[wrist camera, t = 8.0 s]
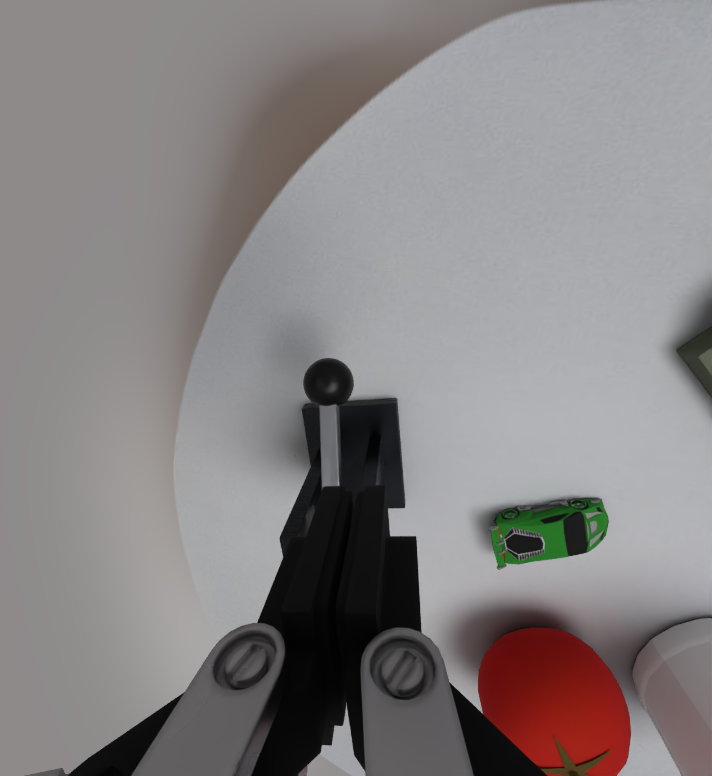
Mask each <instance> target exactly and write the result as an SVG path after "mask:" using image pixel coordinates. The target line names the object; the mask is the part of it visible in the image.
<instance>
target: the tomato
mask: <svg viewBox="0 0 712 776" xmlns="http://www.w3.org/2000/svg"><path fill="white" fill-rule="evenodd" d="M478 693H479V697H480V702H481V706H482V711H483V715H484V716H485V717H486V718H487V719H488V720H490V721H491V722H492V723H493V724H494V725H495V726H496V727H497V728H498V729H499V730H500V731H501V732H502V733H503V734H504V735H505V736H506V737H507V738H508V739H510V740H511V741H512V742H513V743H514V744H515V745H516V746H517V747H518V748H519V749H520V750H521V751H522V752H523V753H524V754H525V755H526V756H527V757H528V758H530V759H531V760H532V761H533V762H534V763H535V764H536V765H537V766H538V767H539V768H540V769H541V770H542V771H543V772H544V773H545V774H546V775H547V776H617V774H618V773H619V772H620V771H621V769H622V768H623V767H624V765H625V764H626V762H627V758H628V754H629V746H630V738H631V728H630V717H629V712H628V707H627V704H626V702H625V699H624V696H623V693H622V690H621V688H620V686H619V684H618V682H617V680H616V679H615V677H614V675H613V674H612V672H611V671H610V669H609V667H608V666H607V665H606V664H605V663H604V662H603V660H602V659H601V658H600V657H599V656H598V655H597V654H596V653H595V651H594V650H593V649H592V648H591V647H590V646H588V645H587V644H586V643H584V642H583V641H582V640H580V639H579V638H577V637H576V636H574V635H572V634H570V633H567V632H565V631H562V630H558V629H553V628H526V629H521V630H516V631H513V632H510V633H508V634H506V635H504V636H502V637H500V638H499V639H498V640H497V641H495V642H494V643H493V645H492V646H491V647H490V648H489V650H488V651H487V652H486V653H485V655H484V657H483V659H482V662H481V665H480V669H479V675H478Z"/></svg>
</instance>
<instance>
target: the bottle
mask: <svg viewBox="0 0 712 776" xmlns="http://www.w3.org/2000/svg"><path fill="white" fill-rule="evenodd" d="M632 674H633V679H634V683H635V687H636V691H637V694H638V696H639V699H640V702H641V704H642V707H643V709H644V710H645V711H646V712H647V714H648V715H649V716H650V718H651V720H652V722H653V723H654V725H655V727H656V729H657V731H658V733H659V734H660V736H661V738H662V740H663V742H664V744H665V746H666V747H667V749H668V751H669V753H670V755H671V757H672V759H673V760H674V762H675V764H676V766H677V768H678V770H679V772H680V773H681V775H682V776H712V618H701V619H697V620H693V621H690V622H686V623H682V624H679V625H675V626H673V627H671V628H669V629H667V630H666V631H664V632H662V633H661V634H659V635H657V636H655V637H654V638H652V639H651V640H650V641H649V642H648V643H647V645H646V646H645V647H644V648H643V649H642V650H641V651H640V653H639V654H638V655H637V658H636V662H635V665H634V668H633V671H632Z"/></svg>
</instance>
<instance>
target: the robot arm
mask: <svg viewBox="0 0 712 776" xmlns="http://www.w3.org/2000/svg"><path fill="white" fill-rule="evenodd" d="M346 702H347V709H348V716H349V723H350V729H351V736H352V743H353V750H354V755H355V757H356V758H357V760H358V761H359V763H360V764H361V766H362V767H363V769H364V770H365V773H366V776H547V775H546V774H545V773H544V772H543V771H542V770H541V769H540V768H539V767H538V766H537V765H536V764H535V763H534V762H533V761H532V760H531V759H530V758H528V757H527V756H526V755H525V754H524V753H523V752H522V751H521V750H520V749H519V748H518V747H517V746H516V745H515V744H514V743H513V742H512V741H511V740H510V739H508V738H507V737H506V736H505V735H504V734H503V733H502V732H501V731H500V730H499V729H498V728H497V727H496V726H495V725H494V724H493V723H492V722H491V721H490V720H488V719H487V718H486V717H485V716H484V715H483V714H482V713H481V712H480V711H479V710H478V709H477V708H476V707H475V706H474V705H473V704H472V703H471V702H470V701H468V700H467V699H466V698H465V697H464V696H463V695H462V694H461V693H460V692H459V691H458V690H457V689H456V688H455V687H454V686H453V685H452V684H451V683H450V682H449V679H448V675H447V672H446V668H445V664H444V660H443V658H442V656H441V653H440V651H439V649H438V647H437V646H436V645H435V644H434V643H433V641H432V640H431V639H430V638H428V637H427V636H425V635H424V634H422V633H421V616H420V597H419V578H418V560H417V541H416V536H390V531H389V518H388V505H387V492H386V485H367V486H365V489H364V491H358V492H357V496H356V501H355V506H354V501H353V493H352V491H346V490H345V487H344V486H324V487H323V489H322V492H321V495H320V498H319V501H318V504H317V507H316V509H315V512H314V515H313V518H312V521H311V524H310V527H309V530H308V533H307V535H306V536H294V537H293V538H291V540H290V542H289V545H288V547H287V550H286V552H285V555H284V557H283V560H282V562H281V565H280V567H279V570H278V572H277V575H276V577H275V580H274V582H273V585H272V587H271V590H270V592H269V595H268V597H267V600H266V602H265V605H264V607H263V610H262V612H261V615H260V617H259V620H258V622H257V623H252V624H248V625H244V626H241V627H239V628H237V629H235V630H233V631H231V632H229V633H228V634H227V635H226V636H224V637H223V638H222V639H221V640H220V641H219V642H218V643H217V644H216V646H215V647H214V648H213V649H212V651H211V652H210V654H209V655H208V657H207V658H206V660H205V661H204V663H203V665H202V666H201V668H200V669H199V671H198V672H197V674H196V675H195V677H194V679H193V680H192V682H191V683H190V685H189V686H188V688H187V689H186V691H185V692H184V693H183V694H181V695H180V696H178V697H177V698H175V699H174V700H173V701H171V702H170V703H168V704H167V705H165V706H164V707H162V708H161V709H160V710H158V711H156V712H155V713H154V714H152V715H151V716H149V717H148V718H146V719H145V720H143V721H142V722H141V723H139V724H138V725H136V726H135V727H133V728H132V729H130V730H129V731H127V732H126V733H124V734H123V735H122V736H120V737H118V738H117V739H116V740H114V741H113V742H111V743H110V744H108V745H107V746H105V747H104V748H103V749H101V750H100V751H98V752H97V753H95V754H94V755H92V756H91V757H89V758H88V759H87V760H85V761H84V762H83V763H82V764H81V765H79V766H78V767H77V768H76V769H74V770H73V771H72V772H71V773H70V774H65V773H64V770H63V768H60V769H55V770H50V771H46V772H40V773H36V774H31V775H26V776H306V774H307V765H308V764H309V763H310V762H311V761H312V760H313V759H314V758H315V757H316V756H317V755H318V754H320V753H321V747H322V745H332V739H333V732H334V725H336V726H342V725H343V722H344V717H345V709H346Z"/></svg>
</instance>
